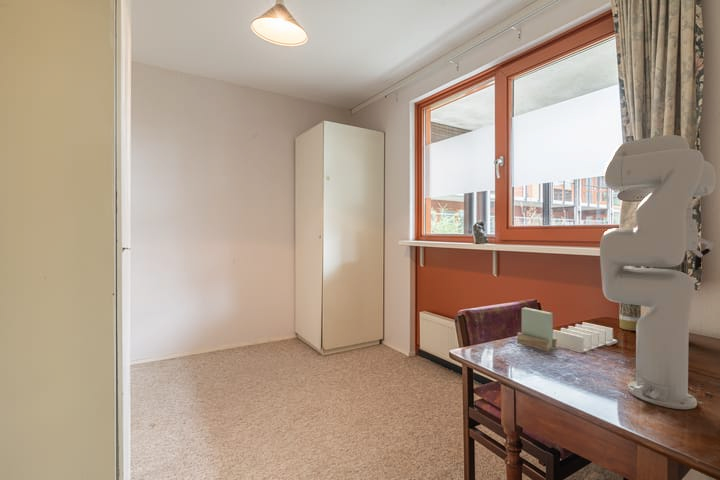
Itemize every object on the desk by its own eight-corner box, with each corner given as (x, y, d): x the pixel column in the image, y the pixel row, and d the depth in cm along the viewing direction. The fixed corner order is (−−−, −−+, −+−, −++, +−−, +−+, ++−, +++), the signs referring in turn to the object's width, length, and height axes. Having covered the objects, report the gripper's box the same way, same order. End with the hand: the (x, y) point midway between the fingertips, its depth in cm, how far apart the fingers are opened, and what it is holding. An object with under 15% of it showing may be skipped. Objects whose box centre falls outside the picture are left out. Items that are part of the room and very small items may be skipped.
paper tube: (641, 329, 139) (641, 269, 138) (640, 332, 134) (640, 271, 133) (620, 325, 143) (621, 268, 143) (618, 329, 138) (619, 269, 138)
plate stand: (547, 353, 111) (547, 342, 111) (515, 343, 121) (515, 332, 121) (559, 350, 114) (559, 338, 114) (526, 340, 125) (526, 329, 125)
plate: (548, 348, 113) (548, 313, 112) (521, 340, 121) (521, 308, 121) (552, 347, 114) (552, 313, 114) (525, 339, 123) (525, 307, 122)
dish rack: (580, 355, 109) (581, 339, 109) (548, 345, 119) (548, 330, 118) (617, 342, 121) (617, 327, 121) (584, 334, 131) (584, 321, 131)
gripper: (639, 216, 109) (639, 267, 110) (716, 213, 98) (715, 271, 98) (641, 216, 115) (640, 266, 115) (714, 214, 103) (713, 269, 103)
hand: (675, 268), depth 106 cm, fingers open, 9 cm apart
